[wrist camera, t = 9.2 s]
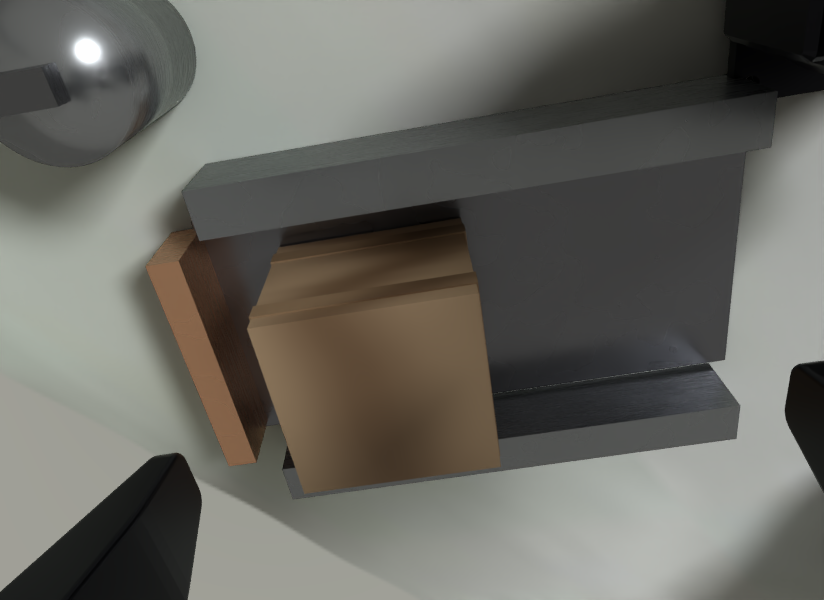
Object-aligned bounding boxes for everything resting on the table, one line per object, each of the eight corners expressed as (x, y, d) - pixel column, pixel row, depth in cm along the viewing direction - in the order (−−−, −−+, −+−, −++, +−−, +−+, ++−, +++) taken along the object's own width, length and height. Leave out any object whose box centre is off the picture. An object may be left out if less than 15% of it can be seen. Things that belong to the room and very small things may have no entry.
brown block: (462, 216, 20) (480, 291, 16) (482, 369, 23) (502, 467, 19) (276, 246, 21) (244, 327, 16) (320, 393, 23) (303, 495, 19)
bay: (771, -148, 16) (937, -188, 11) (719, 392, 24) (800, 505, 19) (7, -1, 17) (-149, 20, 12) (210, 464, 26) (166, 587, 21)
